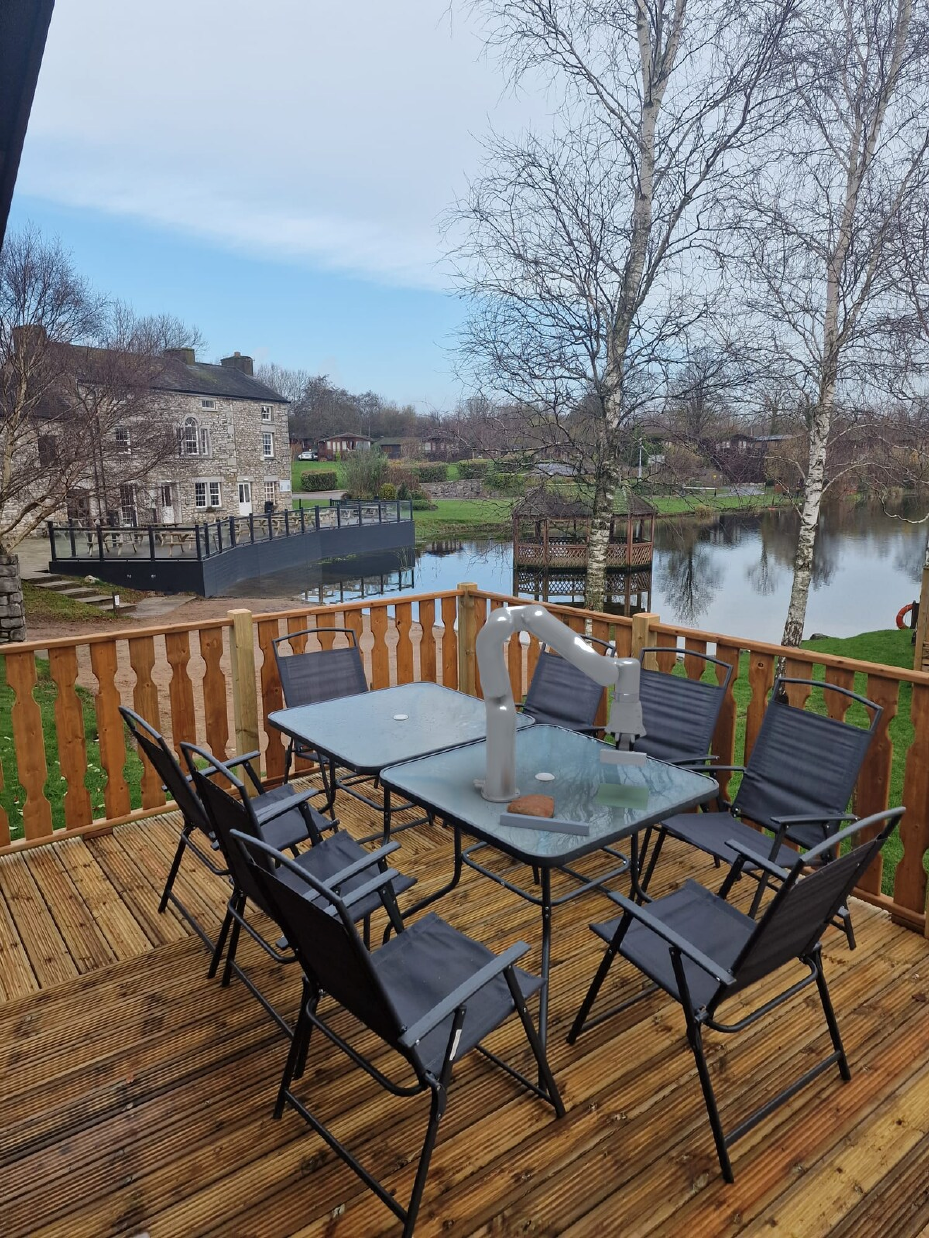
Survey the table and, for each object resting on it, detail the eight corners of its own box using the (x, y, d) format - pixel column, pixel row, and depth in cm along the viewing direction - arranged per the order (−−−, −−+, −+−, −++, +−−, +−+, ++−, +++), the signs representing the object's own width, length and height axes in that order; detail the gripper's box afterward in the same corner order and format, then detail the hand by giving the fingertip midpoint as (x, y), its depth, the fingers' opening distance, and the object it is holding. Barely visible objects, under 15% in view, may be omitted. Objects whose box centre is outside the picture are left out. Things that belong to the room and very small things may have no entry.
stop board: (499, 824, 224) (500, 814, 224) (501, 821, 226) (501, 812, 225) (588, 835, 217) (588, 826, 216) (589, 832, 219) (589, 823, 218)
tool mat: (594, 804, 238) (594, 803, 238) (600, 783, 255) (600, 782, 255) (646, 811, 233) (646, 810, 233) (649, 789, 250) (649, 788, 250)
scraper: (600, 762, 239) (600, 747, 238) (604, 746, 251) (605, 731, 250) (645, 767, 235) (646, 752, 234) (648, 750, 248) (648, 735, 246)
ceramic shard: (573, 796, 232) (545, 819, 221) (571, 814, 234) (544, 837, 223) (533, 779, 241) (505, 800, 230) (532, 796, 243) (504, 817, 232)
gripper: (599, 698, 238) (597, 753, 241) (652, 702, 233) (650, 759, 237) (602, 691, 245) (600, 746, 248) (653, 695, 241) (651, 751, 244)
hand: (624, 751), depth 242 cm, fingers closed on scraper, 3 cm apart
